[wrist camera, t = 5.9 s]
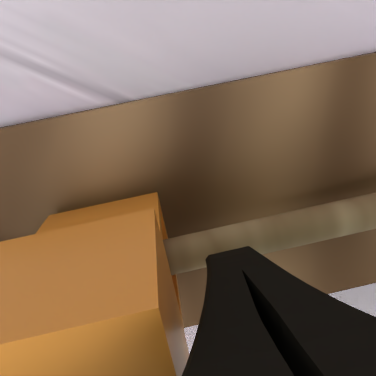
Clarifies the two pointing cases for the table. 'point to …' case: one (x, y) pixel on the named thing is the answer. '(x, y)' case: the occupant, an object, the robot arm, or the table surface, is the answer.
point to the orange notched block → (92, 295)
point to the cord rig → (220, 172)
